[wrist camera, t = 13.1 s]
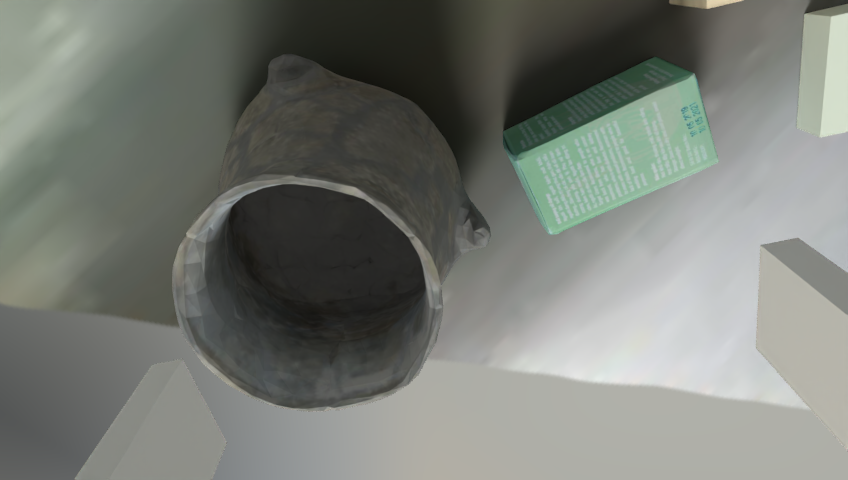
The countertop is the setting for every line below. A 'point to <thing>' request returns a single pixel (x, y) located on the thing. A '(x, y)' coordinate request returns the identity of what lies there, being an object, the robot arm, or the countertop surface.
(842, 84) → the stand
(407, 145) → the vessel
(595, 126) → the box
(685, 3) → the block
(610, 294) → the countertop surface
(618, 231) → the countertop surface
